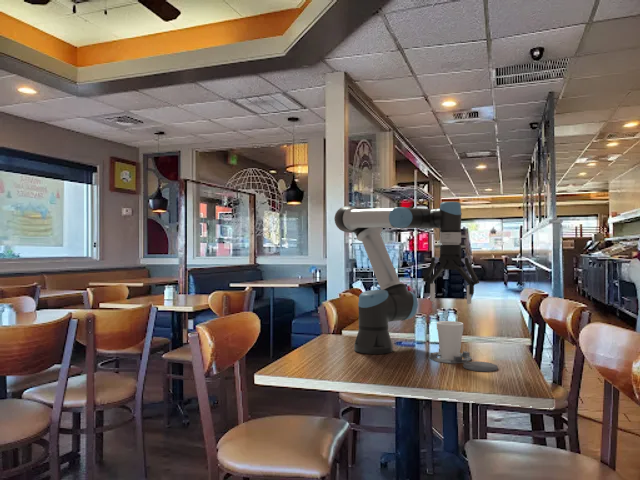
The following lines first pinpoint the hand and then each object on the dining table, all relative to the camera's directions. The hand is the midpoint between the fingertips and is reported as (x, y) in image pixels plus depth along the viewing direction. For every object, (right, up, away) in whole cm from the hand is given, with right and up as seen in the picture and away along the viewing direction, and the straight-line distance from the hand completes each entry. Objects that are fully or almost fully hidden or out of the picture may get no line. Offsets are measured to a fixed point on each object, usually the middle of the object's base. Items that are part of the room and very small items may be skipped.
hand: (450, 302), depth 178 cm
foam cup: (0, -21, 0) cm, 21 cm away
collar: (0, -21, 0) cm, 21 cm away
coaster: (+6, -20, -14) cm, 25 cm away
